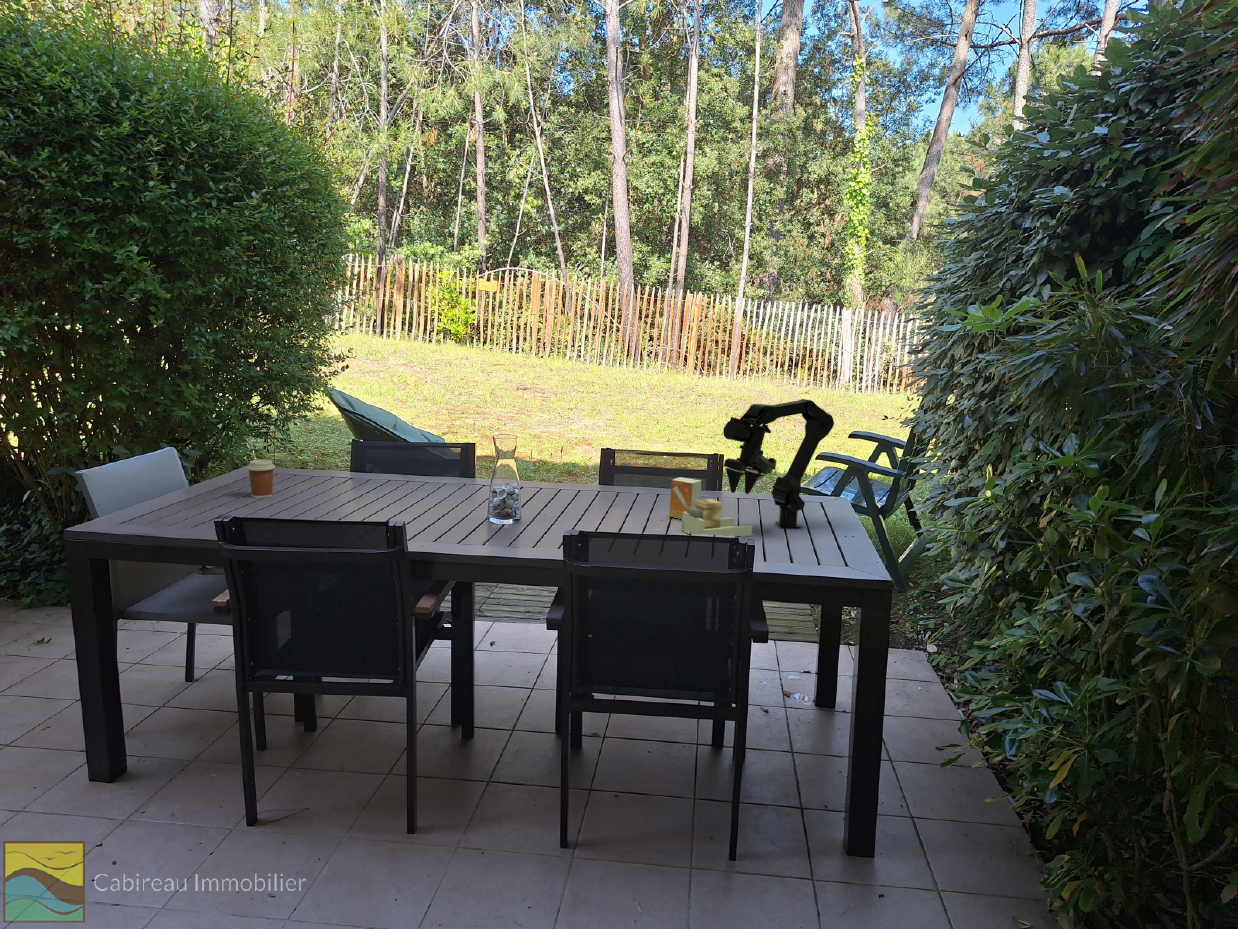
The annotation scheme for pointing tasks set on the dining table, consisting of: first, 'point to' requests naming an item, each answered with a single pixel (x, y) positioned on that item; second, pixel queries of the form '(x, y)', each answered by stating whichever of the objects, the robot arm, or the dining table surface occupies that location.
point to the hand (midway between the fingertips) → (739, 493)
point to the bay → (727, 528)
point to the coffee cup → (261, 477)
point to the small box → (683, 495)
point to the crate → (709, 512)
